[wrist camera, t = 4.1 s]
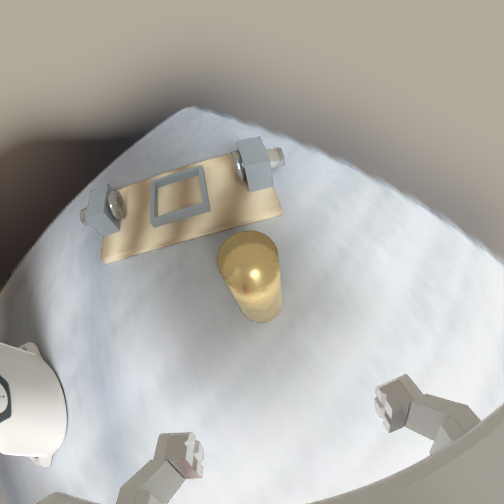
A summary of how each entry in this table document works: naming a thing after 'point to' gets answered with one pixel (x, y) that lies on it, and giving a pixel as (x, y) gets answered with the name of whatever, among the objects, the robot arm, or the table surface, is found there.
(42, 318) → the table surface
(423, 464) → the robot arm
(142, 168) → the table surface
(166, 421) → the table surface
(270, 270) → the cylinder
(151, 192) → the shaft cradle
